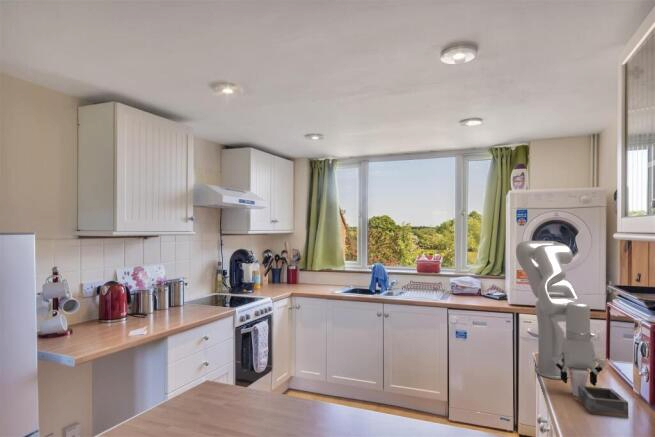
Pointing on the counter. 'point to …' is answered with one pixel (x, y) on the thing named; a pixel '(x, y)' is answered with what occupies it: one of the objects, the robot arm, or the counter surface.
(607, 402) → the frame
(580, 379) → the smoothie
